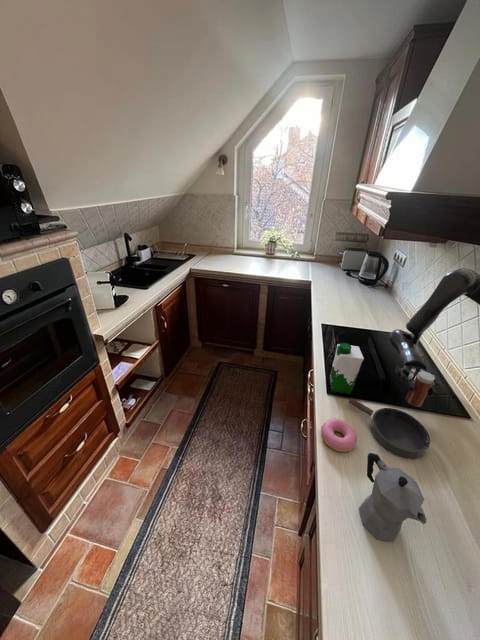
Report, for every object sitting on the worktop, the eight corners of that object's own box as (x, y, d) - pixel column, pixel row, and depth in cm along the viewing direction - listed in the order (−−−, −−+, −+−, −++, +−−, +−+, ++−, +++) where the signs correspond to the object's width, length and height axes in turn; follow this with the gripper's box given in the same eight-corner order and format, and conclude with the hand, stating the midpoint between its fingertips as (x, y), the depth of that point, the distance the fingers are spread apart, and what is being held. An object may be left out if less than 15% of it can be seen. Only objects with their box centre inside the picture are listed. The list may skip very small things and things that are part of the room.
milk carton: (326, 378, 106) (336, 338, 96) (349, 380, 104) (361, 340, 94) (329, 393, 98) (341, 352, 88) (354, 396, 97) (368, 355, 87)
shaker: (416, 395, 92) (429, 370, 86) (425, 407, 88) (439, 381, 82) (402, 395, 92) (414, 370, 86) (410, 406, 88) (423, 381, 82)
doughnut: (312, 432, 83) (314, 423, 81) (336, 418, 88) (339, 410, 86) (338, 460, 75) (341, 452, 73) (363, 444, 80) (366, 436, 78)
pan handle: (372, 413, 88) (373, 410, 87) (370, 416, 87) (371, 413, 86) (350, 399, 93) (351, 397, 92) (348, 402, 92) (348, 400, 91)
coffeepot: (416, 546, 58) (450, 507, 49) (382, 560, 56) (412, 522, 47) (369, 478, 71) (390, 437, 62) (340, 487, 69) (357, 447, 60)
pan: (408, 415, 90) (411, 408, 88) (437, 460, 76) (442, 453, 74) (362, 413, 90) (364, 407, 88) (383, 458, 76) (387, 451, 74)
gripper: (394, 349, 99) (402, 378, 85) (437, 358, 94) (453, 389, 81) (388, 364, 102) (395, 394, 88) (429, 373, 98) (443, 405, 84)
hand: (423, 391), depth 85 cm, fingers closed on shaker, 5 cm apart
